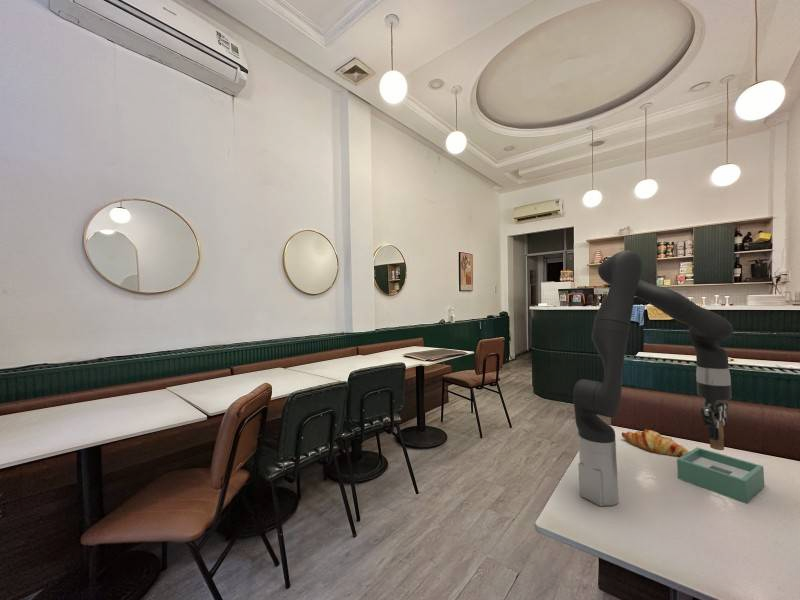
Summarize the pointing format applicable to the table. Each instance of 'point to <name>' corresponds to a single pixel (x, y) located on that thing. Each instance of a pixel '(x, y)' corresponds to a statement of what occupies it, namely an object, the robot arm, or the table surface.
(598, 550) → the table surface
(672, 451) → the croissant
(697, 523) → the table surface
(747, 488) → the box
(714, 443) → the peg
